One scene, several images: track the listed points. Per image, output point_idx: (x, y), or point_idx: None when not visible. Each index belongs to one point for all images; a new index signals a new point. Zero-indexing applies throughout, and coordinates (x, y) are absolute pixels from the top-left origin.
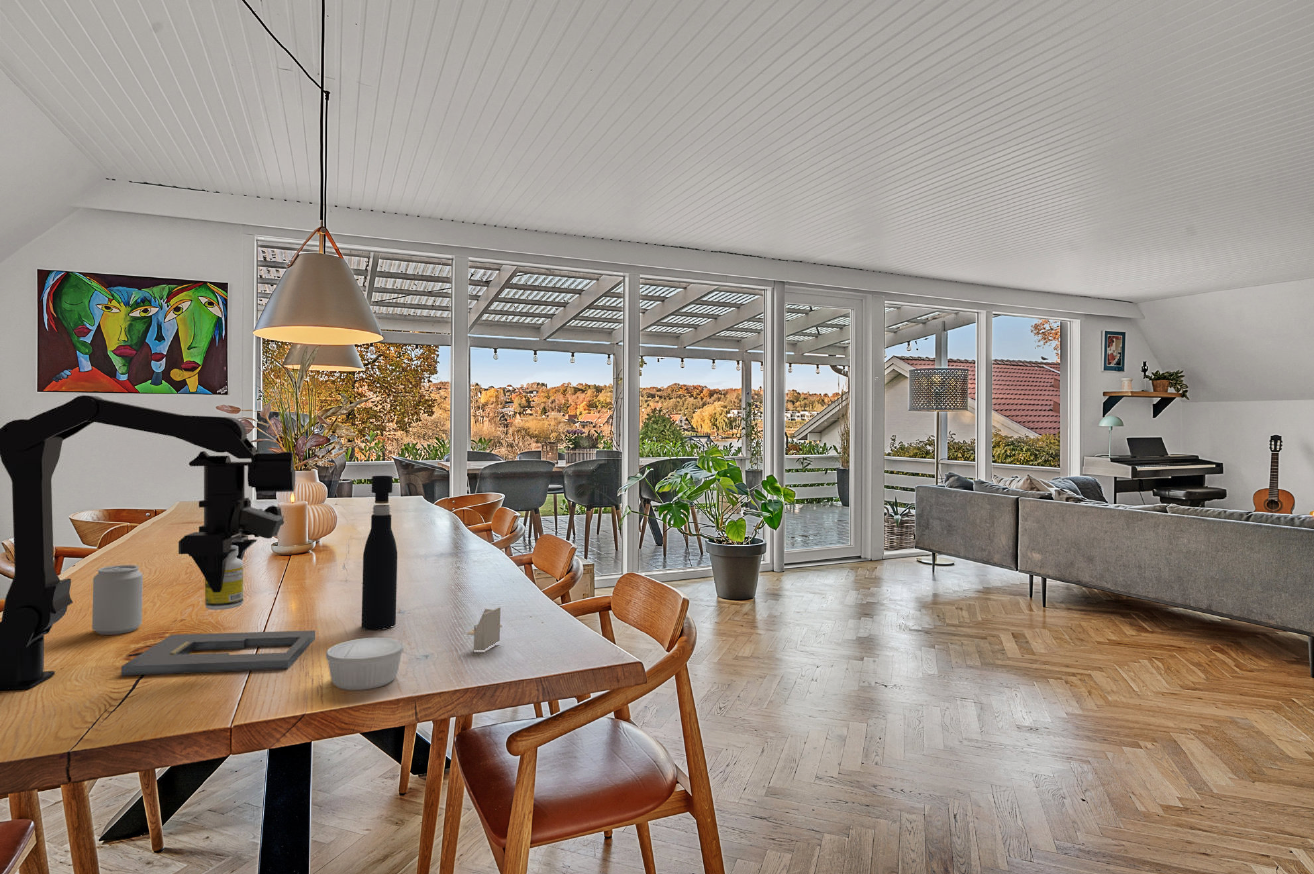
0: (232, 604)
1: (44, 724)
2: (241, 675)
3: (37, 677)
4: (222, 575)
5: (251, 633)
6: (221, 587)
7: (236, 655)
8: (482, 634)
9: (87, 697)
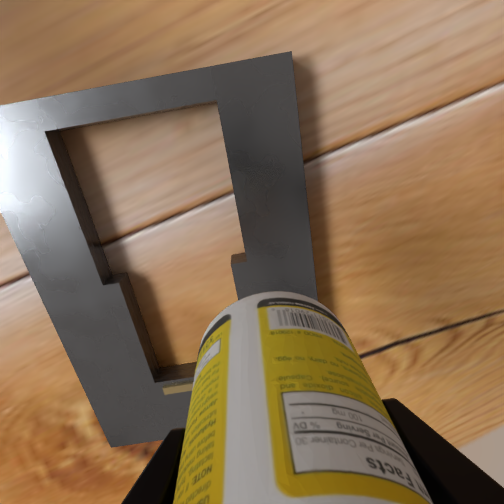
0: (326, 310)
1: None
2: (334, 169)
3: None
4: (487, 488)
5: (52, 295)
6: (400, 414)
7: (252, 233)
8: None
9: (435, 383)
